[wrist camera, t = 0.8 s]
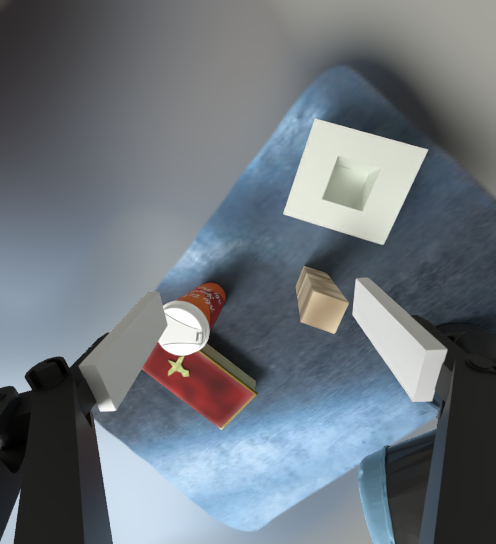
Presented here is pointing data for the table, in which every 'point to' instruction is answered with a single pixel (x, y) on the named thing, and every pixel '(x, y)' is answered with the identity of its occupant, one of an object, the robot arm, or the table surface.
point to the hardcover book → (203, 382)
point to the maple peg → (319, 300)
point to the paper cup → (192, 319)
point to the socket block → (353, 181)
